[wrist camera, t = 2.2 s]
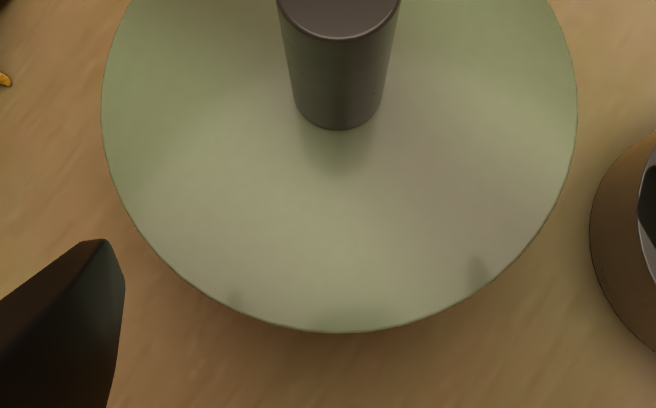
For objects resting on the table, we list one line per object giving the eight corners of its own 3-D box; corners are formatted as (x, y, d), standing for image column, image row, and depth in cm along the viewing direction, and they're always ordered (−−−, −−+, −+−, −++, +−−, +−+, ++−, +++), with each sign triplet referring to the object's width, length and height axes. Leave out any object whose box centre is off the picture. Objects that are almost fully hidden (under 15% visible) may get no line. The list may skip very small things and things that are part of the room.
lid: (429, 429, 15) (493, 500, 9) (26, 182, 17) (-153, 99, 10) (634, 31, 17) (794, -128, 11) (265, -148, 19) (233, -369, 13)
